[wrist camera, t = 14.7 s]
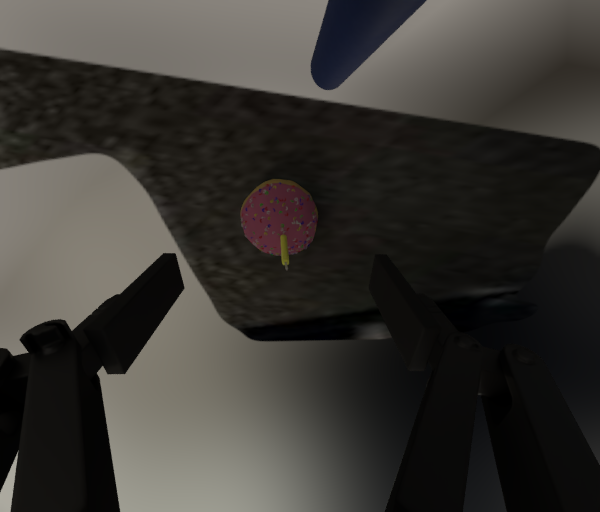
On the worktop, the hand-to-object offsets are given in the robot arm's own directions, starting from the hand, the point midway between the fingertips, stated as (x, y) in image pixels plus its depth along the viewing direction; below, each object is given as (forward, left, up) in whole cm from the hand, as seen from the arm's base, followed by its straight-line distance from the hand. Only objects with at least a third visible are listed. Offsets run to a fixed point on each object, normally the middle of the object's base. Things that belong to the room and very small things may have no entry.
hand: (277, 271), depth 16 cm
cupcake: (0, 0, -16) cm, 16 cm away
